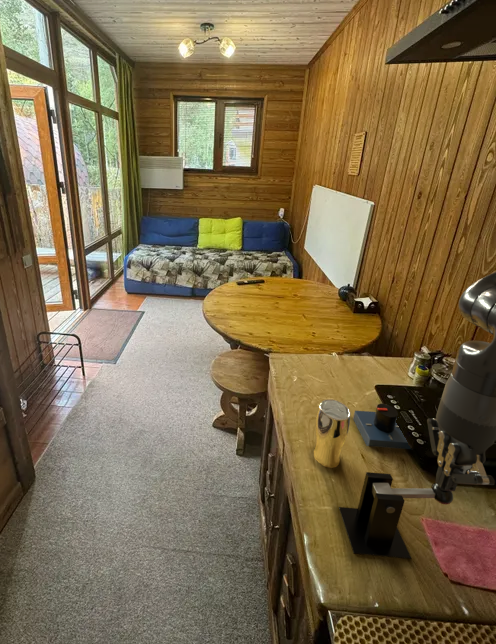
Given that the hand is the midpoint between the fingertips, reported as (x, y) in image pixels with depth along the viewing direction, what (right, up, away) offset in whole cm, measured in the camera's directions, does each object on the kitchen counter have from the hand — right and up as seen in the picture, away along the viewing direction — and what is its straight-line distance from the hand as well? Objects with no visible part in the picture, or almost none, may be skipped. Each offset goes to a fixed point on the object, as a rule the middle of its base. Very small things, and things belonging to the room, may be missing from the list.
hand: (443, 486), depth 54 cm
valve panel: (+5, -6, +28) cm, 29 cm away
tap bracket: (-10, -13, +5) cm, 17 cm away
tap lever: (-5, -3, +1) cm, 6 cm away
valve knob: (+5, -3, +27) cm, 27 cm away
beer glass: (-13, -8, +20) cm, 25 cm away
